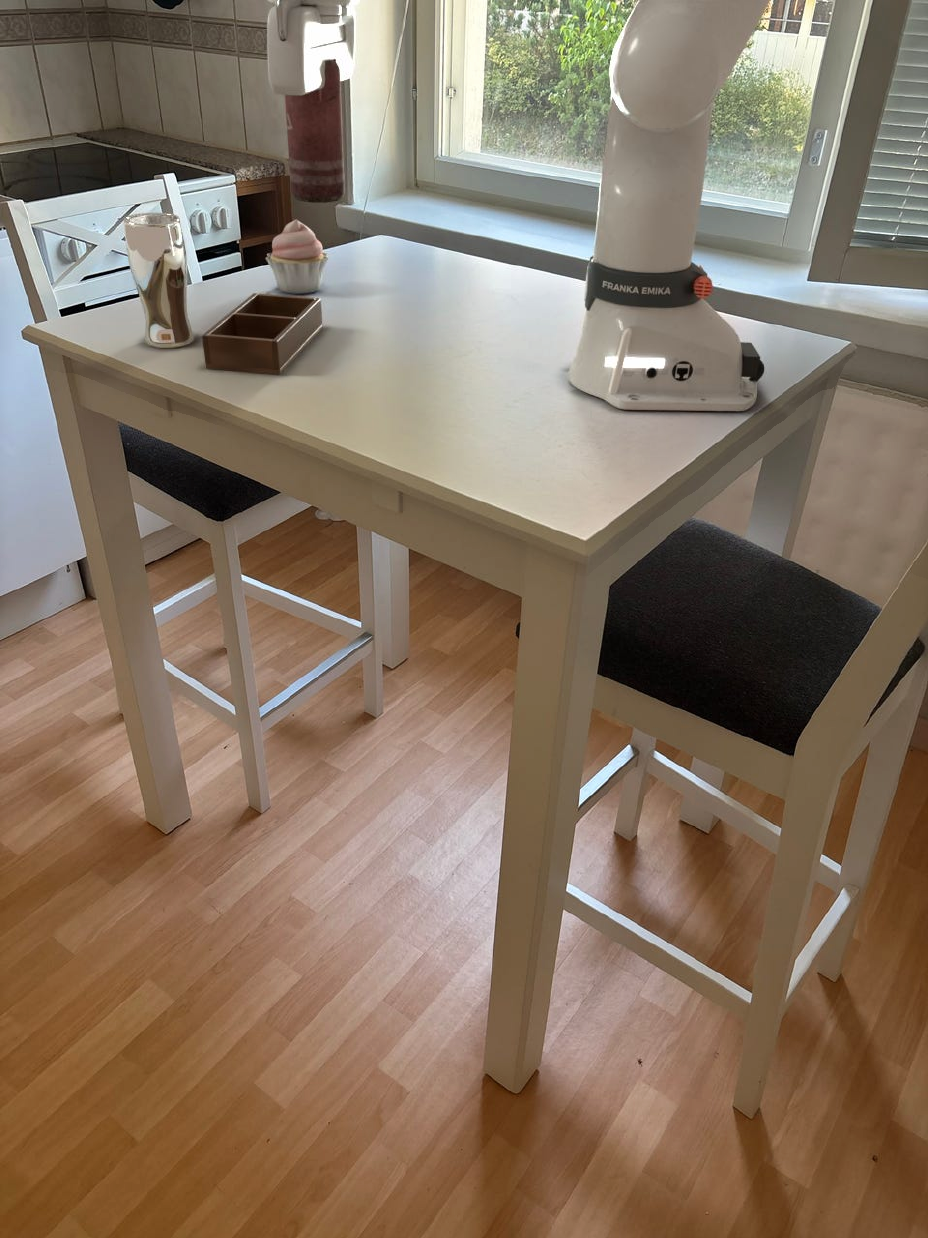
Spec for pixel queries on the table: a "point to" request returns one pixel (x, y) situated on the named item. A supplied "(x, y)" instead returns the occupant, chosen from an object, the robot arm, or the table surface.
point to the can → (317, 141)
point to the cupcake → (297, 259)
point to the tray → (263, 334)
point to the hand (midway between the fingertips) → (317, 133)
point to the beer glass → (160, 276)
